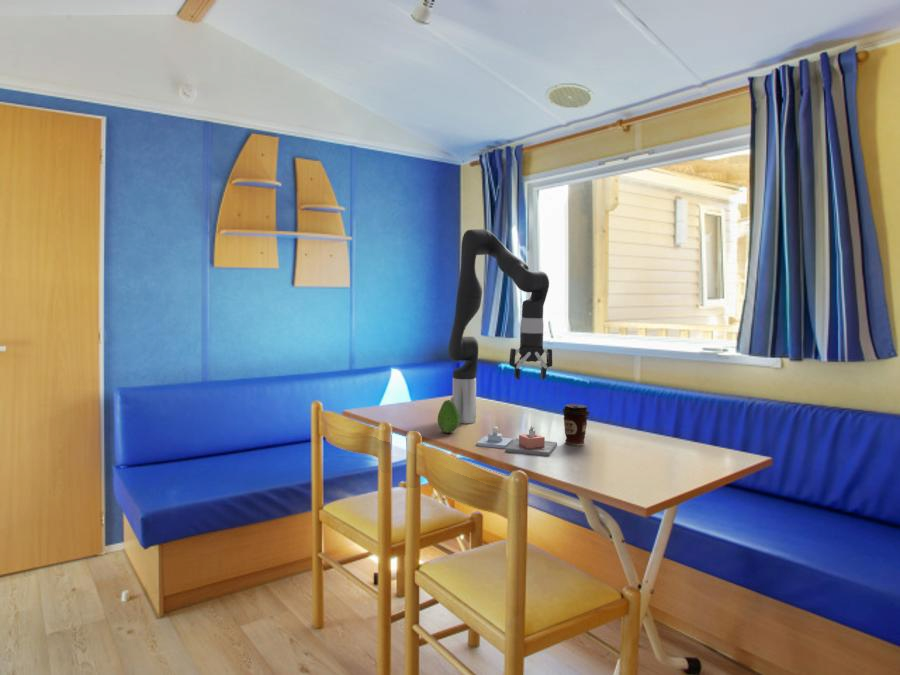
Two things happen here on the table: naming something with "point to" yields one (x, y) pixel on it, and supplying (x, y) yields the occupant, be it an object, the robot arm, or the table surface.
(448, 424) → the avocado
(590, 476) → the table surface
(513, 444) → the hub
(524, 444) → the salmon square frame
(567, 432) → the coffee cup
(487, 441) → the stand
